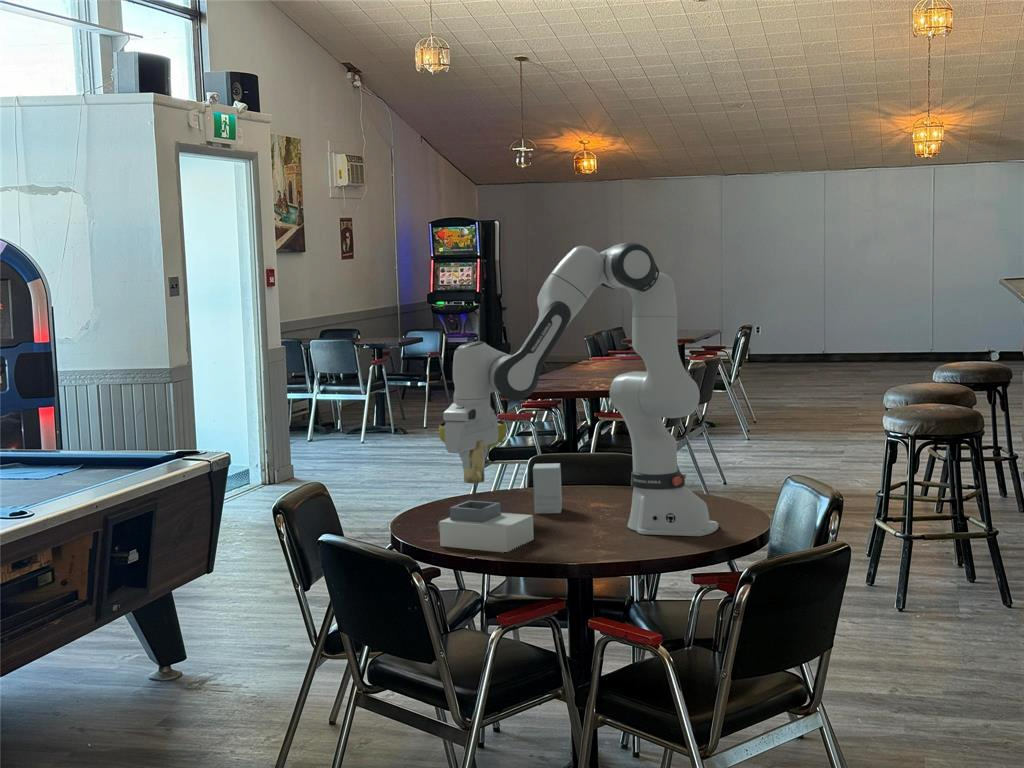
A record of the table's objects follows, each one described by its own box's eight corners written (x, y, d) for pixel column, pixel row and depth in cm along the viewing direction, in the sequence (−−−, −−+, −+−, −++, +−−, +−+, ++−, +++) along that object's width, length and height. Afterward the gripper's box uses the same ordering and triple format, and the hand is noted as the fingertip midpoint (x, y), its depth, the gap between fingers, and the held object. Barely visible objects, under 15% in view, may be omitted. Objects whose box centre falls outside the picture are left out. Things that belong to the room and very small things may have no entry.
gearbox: (533, 539, 271) (532, 503, 270) (506, 552, 258) (505, 514, 258) (455, 532, 281) (454, 497, 280) (426, 544, 269) (424, 508, 268)
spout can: (488, 480, 270) (486, 427, 269) (478, 483, 265) (476, 429, 264) (470, 479, 272) (468, 426, 271) (460, 482, 268) (458, 428, 267)
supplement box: (562, 508, 307) (561, 462, 305) (561, 513, 299) (559, 467, 298) (535, 508, 307) (534, 463, 306) (533, 514, 300) (532, 467, 299)
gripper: (481, 404, 278) (483, 459, 279) (439, 414, 260) (441, 472, 261) (504, 405, 275) (505, 460, 276) (462, 415, 257) (464, 474, 258)
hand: (473, 466), depth 268 cm, fingers closed on spout can, 5 cm apart
